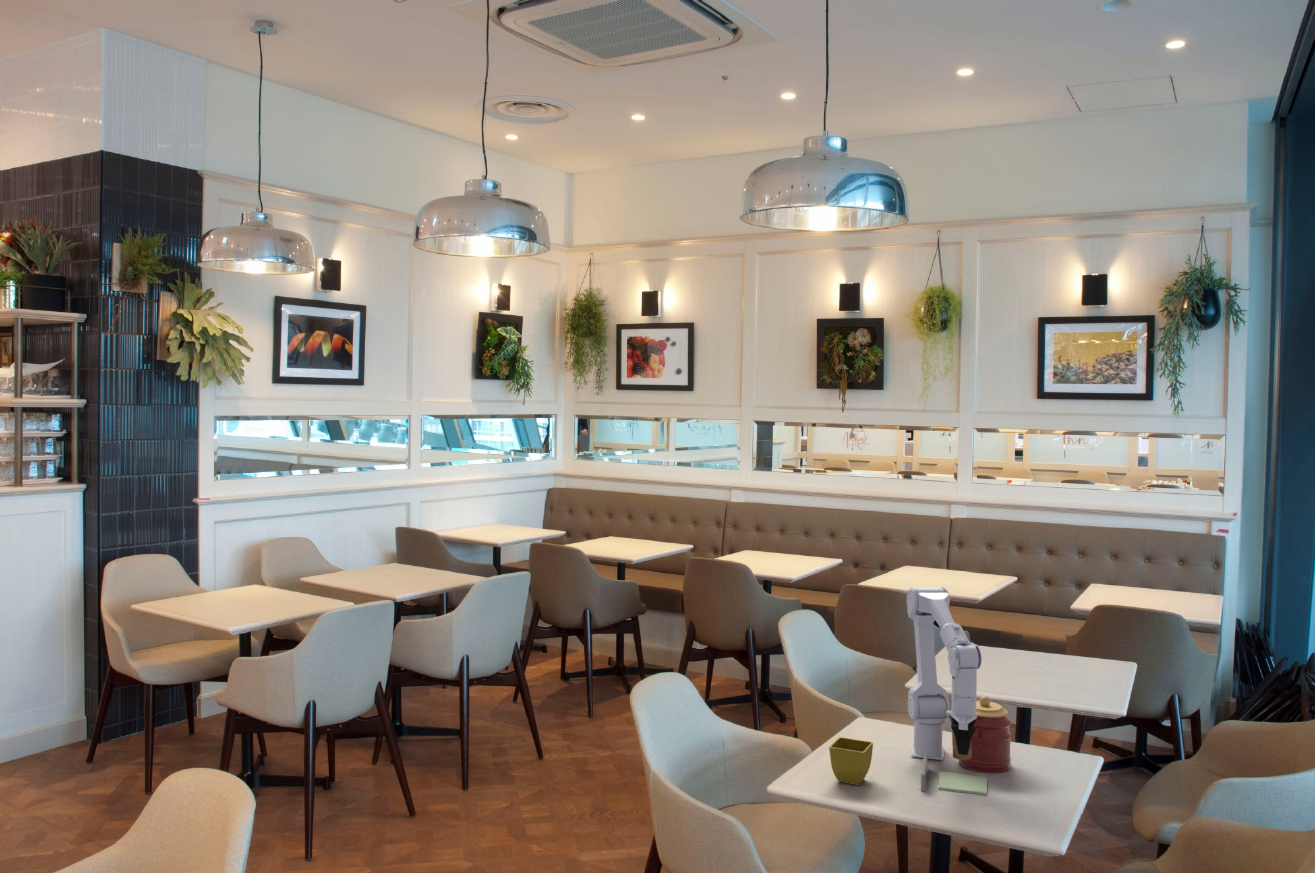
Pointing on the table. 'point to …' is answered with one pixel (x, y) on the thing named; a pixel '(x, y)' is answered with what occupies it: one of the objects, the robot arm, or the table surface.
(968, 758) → the walnut cylinder
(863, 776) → the flower pot
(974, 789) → the green mat
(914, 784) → the table surface
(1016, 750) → the table surface
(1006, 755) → the canister
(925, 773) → the grey wall
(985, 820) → the table surface
